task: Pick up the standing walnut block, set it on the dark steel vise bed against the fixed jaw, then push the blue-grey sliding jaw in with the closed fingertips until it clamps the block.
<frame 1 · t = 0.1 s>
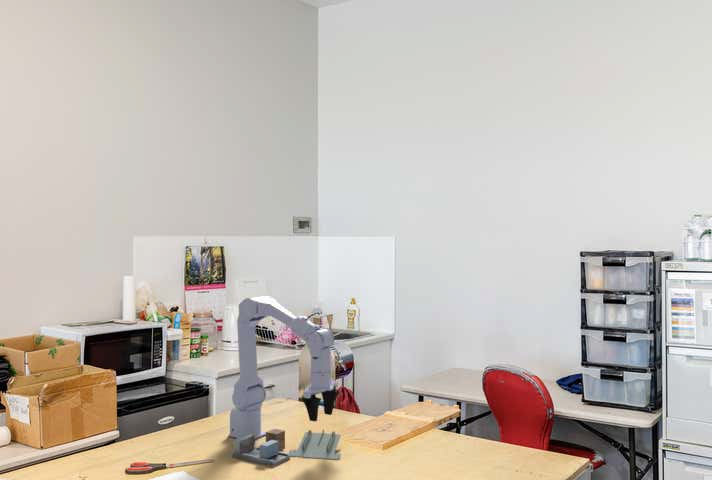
hand: (320, 417, 196), 10 cm above the table, tool pointing down, fingers open, 7 cm apart
jaw: (268, 449, 189), point 3 cm above the table, slide at 5.0 cm
block: (275, 448, 200), on the table
vise: (260, 457, 191), on the table
metal bracket: (318, 453, 197), on the table
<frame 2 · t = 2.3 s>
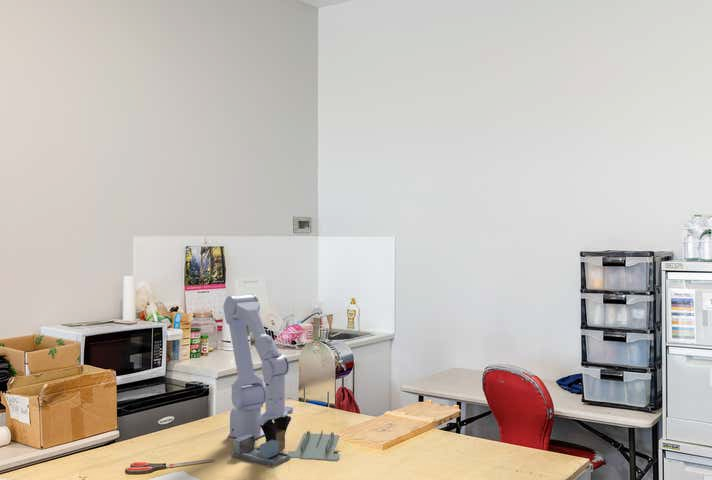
hand: (275, 443, 199), 1 cm above the table, tool pointing down, fingers closed on block, 4 cm apart
block: (275, 447, 200), on the table, touching gripper
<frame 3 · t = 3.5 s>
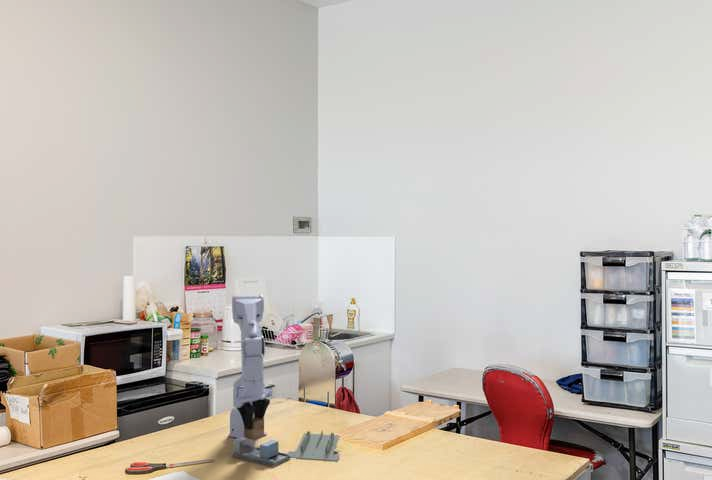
hand: (253, 426, 192), 8 cm above the table, tool pointing down, fingers closed on block, 4 cm apart
block: (254, 437, 192), point 6 cm above the table, touching gripper
when the fingers open (3 cm above the table, at t = 4.9 s): block stays where it is, resting on vise.
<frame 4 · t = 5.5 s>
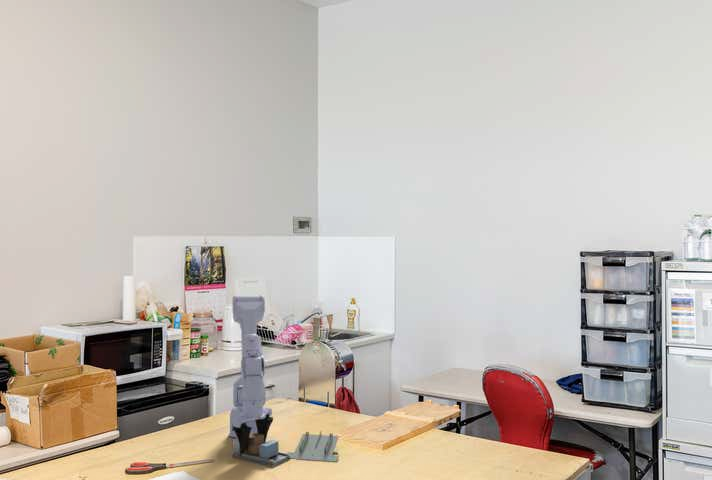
hand: (253, 446, 192), 3 cm above the table, tool pointing down, fingers open, 7 cm apart
block: (254, 452, 192), point 1 cm above the table, touching vise
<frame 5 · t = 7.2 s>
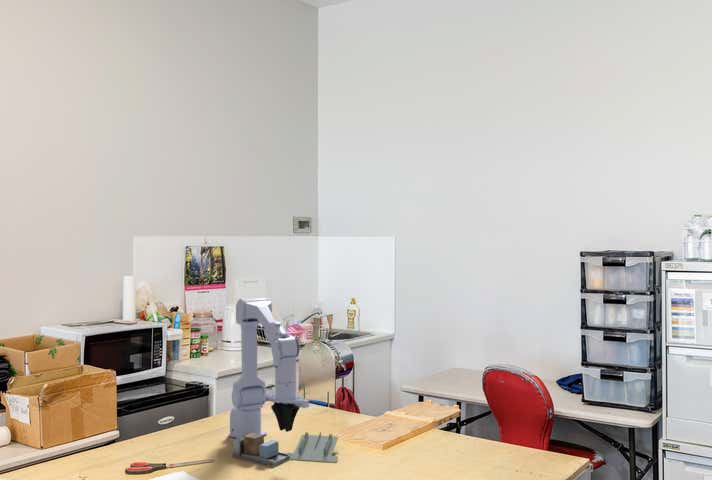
hand: (285, 430, 186), 9 cm above the table, tool pointing down, fingers closed
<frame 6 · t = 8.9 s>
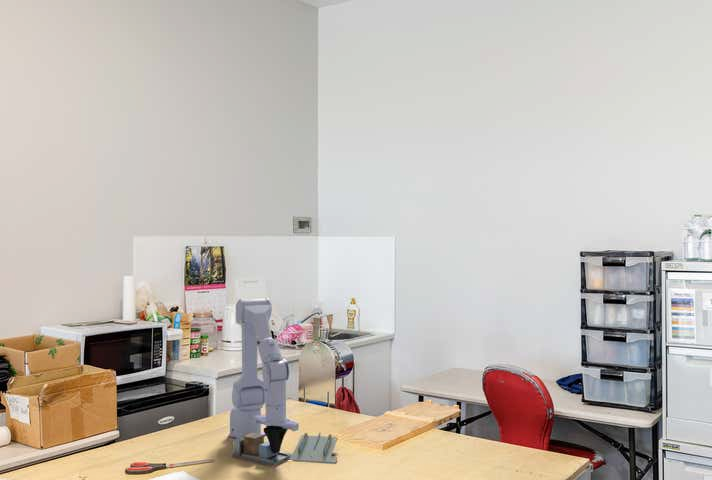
hand: (275, 452, 188), 3 cm above the table, tool pointing down, fingers closed
jaw: (268, 449, 189), point 3 cm above the table, slide at 4.9 cm, touching gripper
metal bracket: (314, 456, 194), on the table, touching vise
everything else where it was.
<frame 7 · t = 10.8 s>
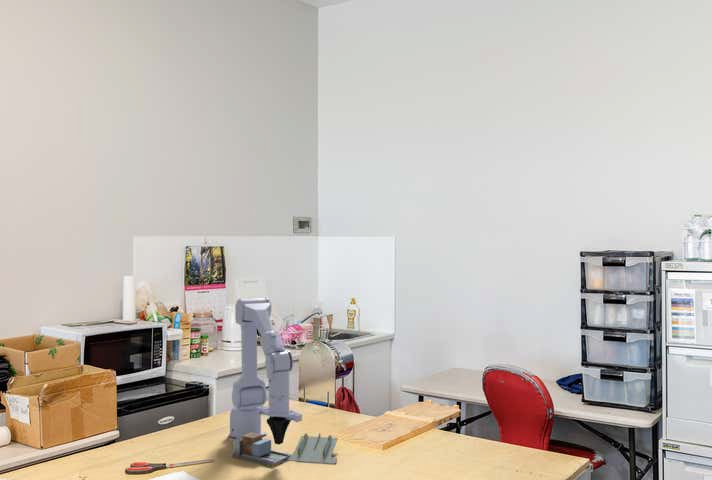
hand: (279, 443, 187), 5 cm above the table, tool pointing down, fingers closed
jaw: (261, 447, 191), point 3 cm above the table, slide at 2.3 cm, touching block
block: (252, 452, 192), point 1 cm above the table, touching jaw, vise
metal bracket: (314, 457, 193), on the table
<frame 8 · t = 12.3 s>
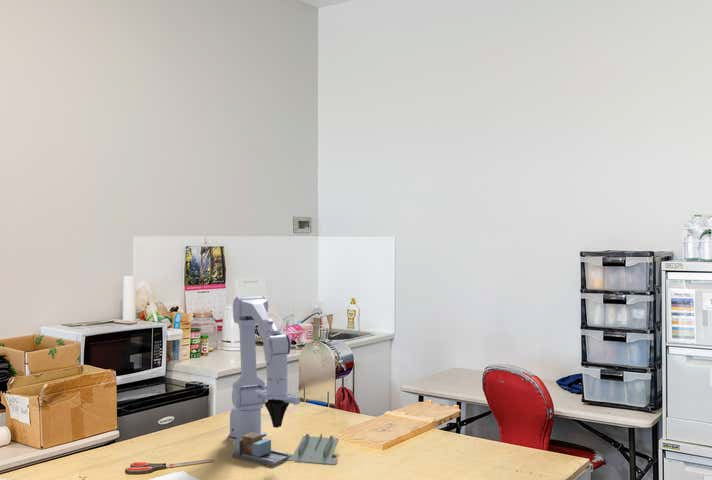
hand: (277, 426, 187), 10 cm above the table, tool pointing down, fingers closed
metal bracket: (315, 457, 193), on the table, touching vise
everything else where it was.
at the end: block 0.5 cm from the target spot on the vise, point 1.0 cm above the vise's base; block tilted 0°; jaw slide at 2.3 cm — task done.
